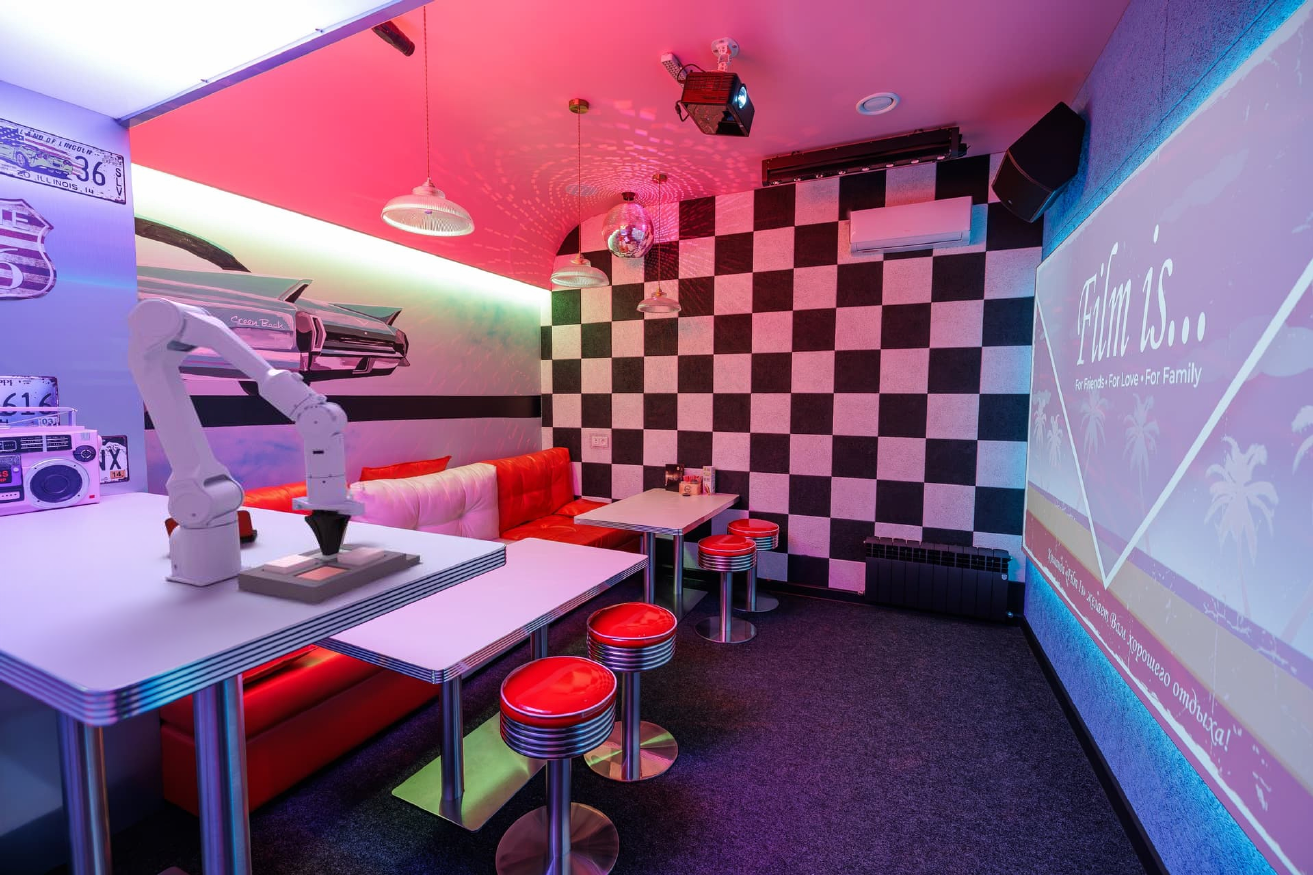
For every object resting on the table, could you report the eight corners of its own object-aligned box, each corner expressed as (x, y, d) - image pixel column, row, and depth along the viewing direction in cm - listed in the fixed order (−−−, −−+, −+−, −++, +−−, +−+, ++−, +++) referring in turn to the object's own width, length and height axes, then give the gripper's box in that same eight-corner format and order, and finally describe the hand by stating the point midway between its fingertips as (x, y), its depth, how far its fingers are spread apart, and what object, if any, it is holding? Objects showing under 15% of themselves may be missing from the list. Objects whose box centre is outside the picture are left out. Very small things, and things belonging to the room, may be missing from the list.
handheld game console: (258, 534, 113) (255, 499, 112) (252, 547, 104) (249, 509, 103) (180, 543, 107) (177, 506, 106) (166, 557, 97) (163, 518, 97)
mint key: (307, 563, 90) (307, 556, 90) (333, 554, 94) (333, 548, 94) (328, 566, 88) (327, 559, 88) (353, 557, 93) (353, 551, 93)
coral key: (296, 583, 81) (295, 576, 81) (325, 573, 85) (325, 566, 85) (319, 588, 79) (318, 580, 79) (347, 577, 84) (347, 570, 84)
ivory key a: (264, 571, 83) (263, 563, 83) (294, 561, 88) (294, 554, 88) (285, 574, 82) (285, 567, 81) (315, 565, 86) (314, 557, 86)
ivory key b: (337, 562, 87) (337, 555, 87) (362, 553, 92) (362, 547, 92) (359, 565, 86) (359, 558, 86) (384, 556, 90) (383, 550, 90)
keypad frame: (238, 588, 82) (237, 572, 82) (350, 551, 100) (350, 538, 100) (316, 604, 76) (314, 587, 76) (420, 562, 95) (419, 548, 94)
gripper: (378, 474, 91) (382, 551, 92) (317, 469, 96) (322, 542, 97) (341, 480, 85) (346, 564, 86) (278, 475, 90) (283, 554, 91)
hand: (330, 553), depth 91 cm, fingers closed, pressing on mint key
